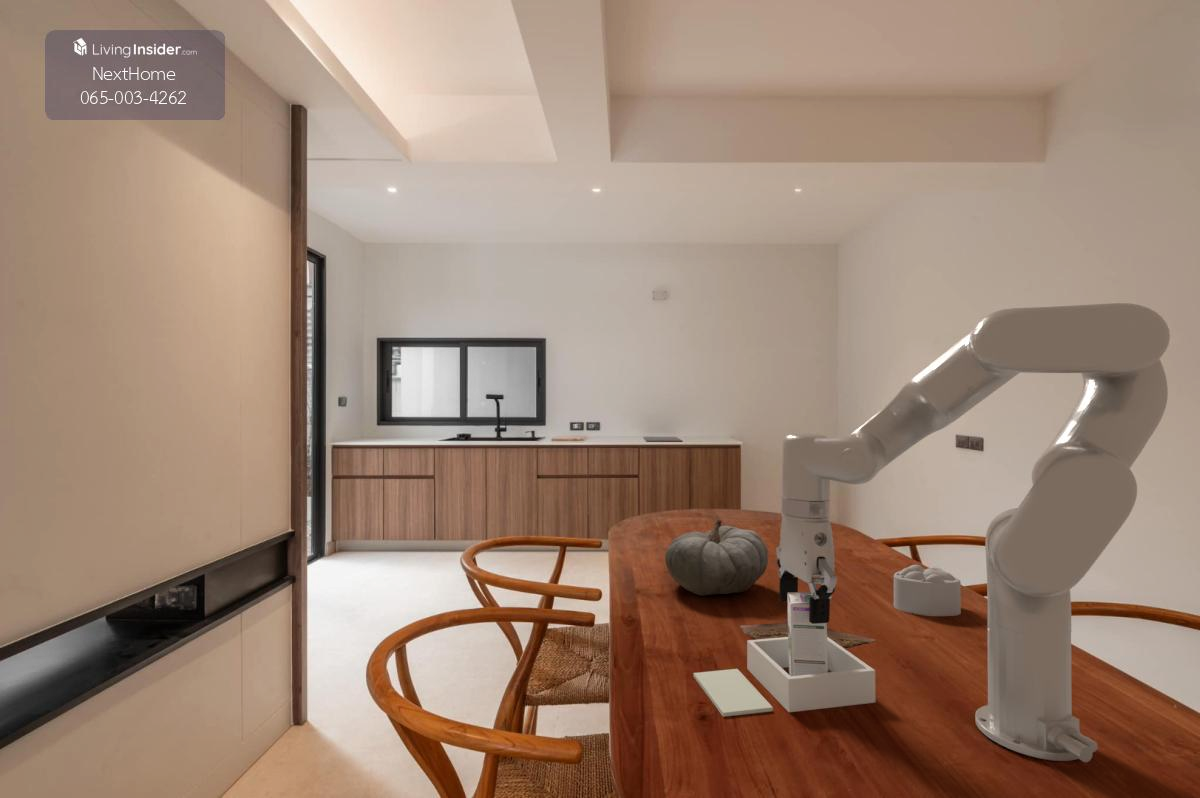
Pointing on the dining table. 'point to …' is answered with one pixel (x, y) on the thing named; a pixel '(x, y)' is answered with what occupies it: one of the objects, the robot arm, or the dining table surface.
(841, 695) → the square frame
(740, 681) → the mat
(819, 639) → the syrup box
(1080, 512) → the robot arm
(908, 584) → the lumpy-topped squat cylinder
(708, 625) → the dining table surface
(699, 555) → the gourd
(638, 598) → the dining table surface
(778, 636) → the wooden fragment
